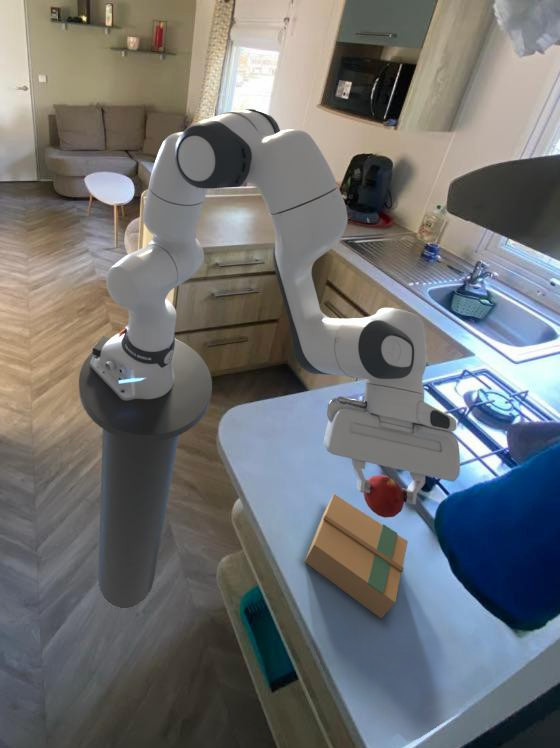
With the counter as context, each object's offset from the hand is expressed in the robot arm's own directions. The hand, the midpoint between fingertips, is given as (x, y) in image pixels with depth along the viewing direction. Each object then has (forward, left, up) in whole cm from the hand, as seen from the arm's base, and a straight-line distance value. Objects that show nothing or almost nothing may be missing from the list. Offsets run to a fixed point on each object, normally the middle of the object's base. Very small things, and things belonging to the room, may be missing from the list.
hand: (385, 497), depth 67 cm
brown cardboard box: (0, -1, -17) cm, 17 cm away
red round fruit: (0, +1, -5) cm, 5 cm away
